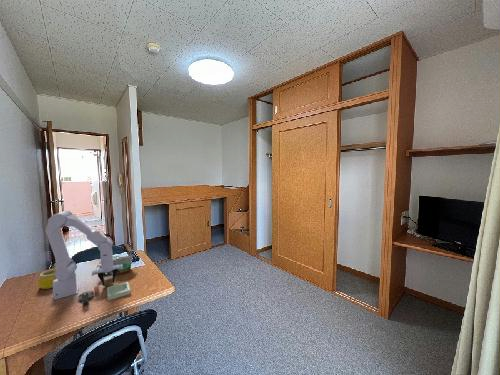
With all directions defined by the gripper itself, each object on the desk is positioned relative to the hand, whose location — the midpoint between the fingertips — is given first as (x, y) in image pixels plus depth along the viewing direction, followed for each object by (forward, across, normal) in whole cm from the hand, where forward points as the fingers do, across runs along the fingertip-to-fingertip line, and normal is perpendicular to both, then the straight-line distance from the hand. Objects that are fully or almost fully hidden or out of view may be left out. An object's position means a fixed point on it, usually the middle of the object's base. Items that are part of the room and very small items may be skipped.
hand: (108, 283), depth 122 cm
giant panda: (+2, 0, +18) cm, 18 cm away
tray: (+1, +4, -11) cm, 12 cm away
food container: (+2, +9, +13) cm, 16 cm away
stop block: (+1, 0, 0) cm, 1 cm away
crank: (+1, -10, -9) cm, 13 cm away
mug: (+2, -26, +20) cm, 33 cm away
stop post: (+1, -6, -4) cm, 7 cm away
